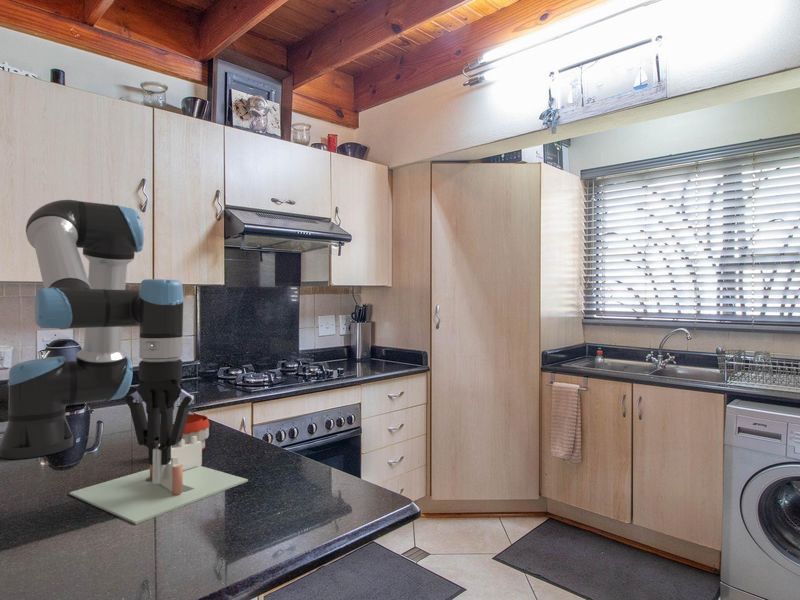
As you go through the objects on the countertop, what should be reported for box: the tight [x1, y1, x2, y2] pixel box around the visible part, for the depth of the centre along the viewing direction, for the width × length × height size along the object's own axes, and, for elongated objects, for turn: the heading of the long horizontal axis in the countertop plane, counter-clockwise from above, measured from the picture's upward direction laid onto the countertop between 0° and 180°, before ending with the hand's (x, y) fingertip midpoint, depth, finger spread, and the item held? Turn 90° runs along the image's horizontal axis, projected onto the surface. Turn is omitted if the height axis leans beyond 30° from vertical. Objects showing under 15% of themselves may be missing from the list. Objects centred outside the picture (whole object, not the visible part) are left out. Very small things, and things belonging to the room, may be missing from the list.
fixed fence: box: [149, 436, 203, 480], centre depth 103 cm, size 2×12×8 cm, turn 147°
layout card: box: [69, 465, 249, 525], centre depth 95 cm, size 24×23×1 cm
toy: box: [172, 413, 211, 451], centre depth 119 cm, size 12×10×8 cm
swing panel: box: [160, 456, 183, 494], centre depth 94 cm, size 11×2×6 cm, turn 46°
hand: (159, 480), depth 91 cm, fingers closed
